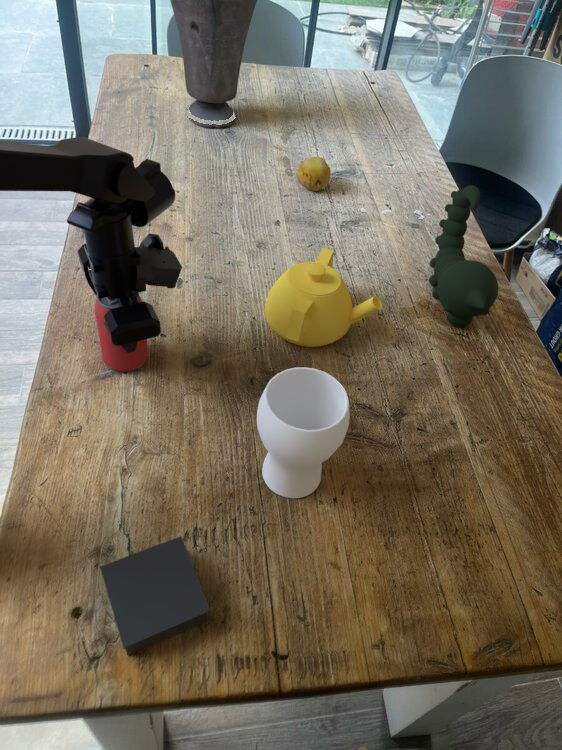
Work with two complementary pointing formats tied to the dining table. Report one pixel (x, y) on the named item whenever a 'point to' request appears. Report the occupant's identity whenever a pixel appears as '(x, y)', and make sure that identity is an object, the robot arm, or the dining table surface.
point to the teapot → (314, 304)
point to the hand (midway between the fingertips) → (123, 335)
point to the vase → (212, 52)
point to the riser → (154, 595)
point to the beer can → (112, 353)
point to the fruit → (314, 173)
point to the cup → (300, 428)
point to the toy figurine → (461, 266)
